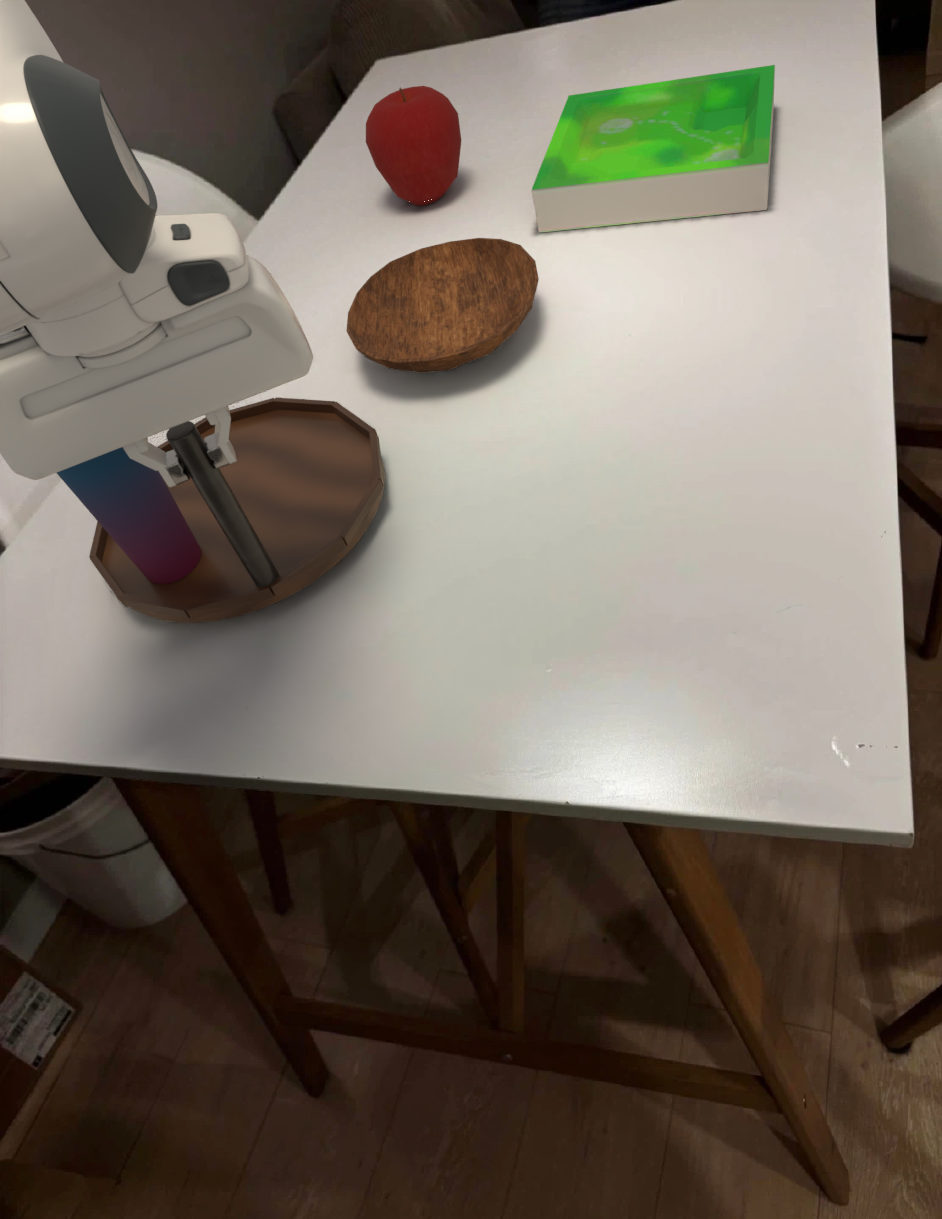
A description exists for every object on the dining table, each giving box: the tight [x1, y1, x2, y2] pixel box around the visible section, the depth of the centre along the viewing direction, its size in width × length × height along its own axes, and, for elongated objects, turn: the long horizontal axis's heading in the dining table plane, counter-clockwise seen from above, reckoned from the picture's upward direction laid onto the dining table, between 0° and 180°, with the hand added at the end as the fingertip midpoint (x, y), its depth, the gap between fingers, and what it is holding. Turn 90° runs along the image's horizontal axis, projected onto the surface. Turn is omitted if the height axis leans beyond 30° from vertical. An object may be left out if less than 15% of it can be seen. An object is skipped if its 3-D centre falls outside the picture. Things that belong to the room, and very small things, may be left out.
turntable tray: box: [89, 397, 386, 624], centre depth 73 cm, size 26×26×16 cm
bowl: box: [345, 237, 540, 374], centre depth 90 cm, size 20×22×5 cm
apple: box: [365, 85, 462, 207], centre depth 110 cm, size 12×12×13 cm
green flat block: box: [531, 64, 776, 234], centre depth 104 cm, size 25×25×5 cm
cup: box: [56, 447, 201, 584], centre depth 69 cm, size 7×7×15 cm
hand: (203, 469), depth 61 cm, fingers closed on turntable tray, 2 cm apart
